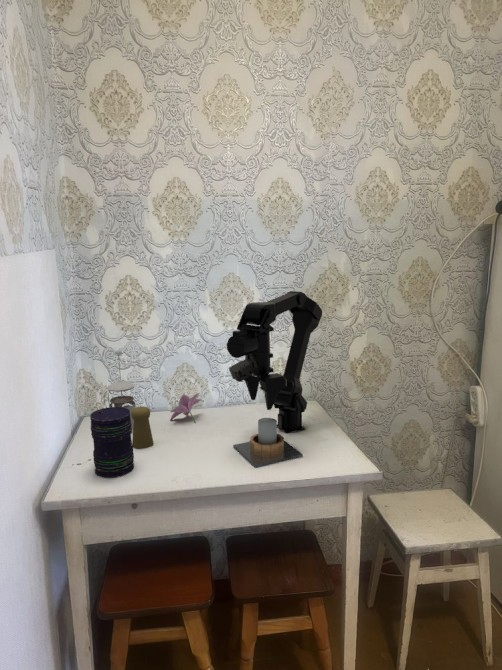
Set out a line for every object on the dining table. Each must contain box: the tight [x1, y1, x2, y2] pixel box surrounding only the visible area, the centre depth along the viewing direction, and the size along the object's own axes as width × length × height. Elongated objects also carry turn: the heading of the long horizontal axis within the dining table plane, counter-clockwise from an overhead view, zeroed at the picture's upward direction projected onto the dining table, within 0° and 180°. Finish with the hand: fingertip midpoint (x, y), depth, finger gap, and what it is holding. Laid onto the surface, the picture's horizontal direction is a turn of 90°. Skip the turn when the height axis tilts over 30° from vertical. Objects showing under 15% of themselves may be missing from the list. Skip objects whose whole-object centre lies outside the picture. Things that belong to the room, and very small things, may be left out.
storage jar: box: [89, 406, 135, 479], centre depth 127 cm, size 10×10×15 cm
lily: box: [169, 392, 202, 424], centre depth 160 cm, size 12×12×10 cm
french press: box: [103, 349, 136, 435], centre depth 153 cm, size 10×12×25 cm
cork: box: [131, 405, 155, 450], centre depth 142 cm, size 6×6×11 cm
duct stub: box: [257, 417, 278, 445], centre depth 136 cm, size 5×5×8 cm
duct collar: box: [232, 433, 304, 469], centre depth 136 cm, size 14×14×4 cm
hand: (261, 404), depth 139 cm, fingers open, 9 cm apart
